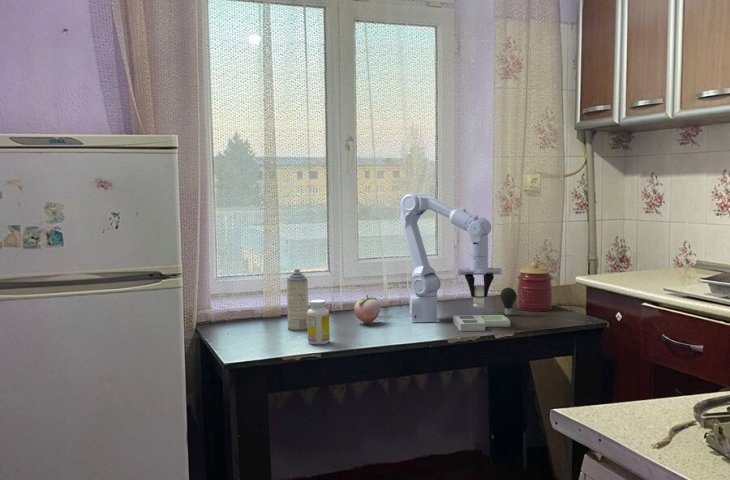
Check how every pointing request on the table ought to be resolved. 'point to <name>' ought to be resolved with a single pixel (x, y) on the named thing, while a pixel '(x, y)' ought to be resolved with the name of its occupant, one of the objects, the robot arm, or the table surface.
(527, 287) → the canister
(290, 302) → the aerosol can
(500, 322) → the parts tray
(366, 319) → the decorative fruit
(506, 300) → the light bulb
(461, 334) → the table surface
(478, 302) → the fuse
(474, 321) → the gray rectangular frame
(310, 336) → the supplement bottle
